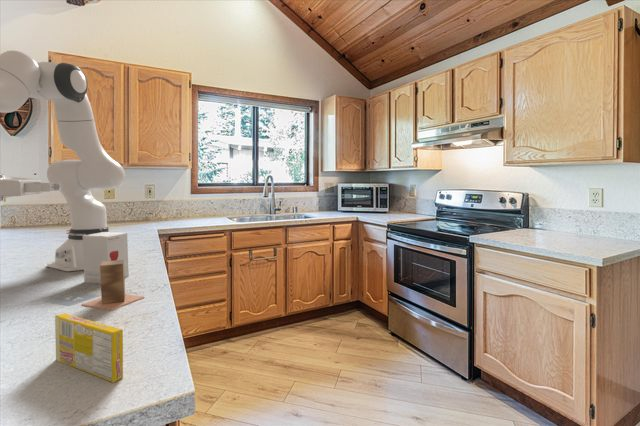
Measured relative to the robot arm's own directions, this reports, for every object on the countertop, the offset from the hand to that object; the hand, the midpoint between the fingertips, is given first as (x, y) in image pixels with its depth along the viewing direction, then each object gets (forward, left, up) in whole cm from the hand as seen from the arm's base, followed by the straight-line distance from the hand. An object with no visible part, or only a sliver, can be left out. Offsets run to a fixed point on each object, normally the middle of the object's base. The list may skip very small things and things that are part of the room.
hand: (55, 187), depth 89 cm
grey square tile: (-1, +3, -30) cm, 30 cm away
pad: (+11, +5, -30) cm, 33 cm away
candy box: (+35, -21, -30) cm, 51 cm away
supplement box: (-9, +20, -30) cm, 37 cm away
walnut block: (+11, +5, -29) cm, 32 cm away
